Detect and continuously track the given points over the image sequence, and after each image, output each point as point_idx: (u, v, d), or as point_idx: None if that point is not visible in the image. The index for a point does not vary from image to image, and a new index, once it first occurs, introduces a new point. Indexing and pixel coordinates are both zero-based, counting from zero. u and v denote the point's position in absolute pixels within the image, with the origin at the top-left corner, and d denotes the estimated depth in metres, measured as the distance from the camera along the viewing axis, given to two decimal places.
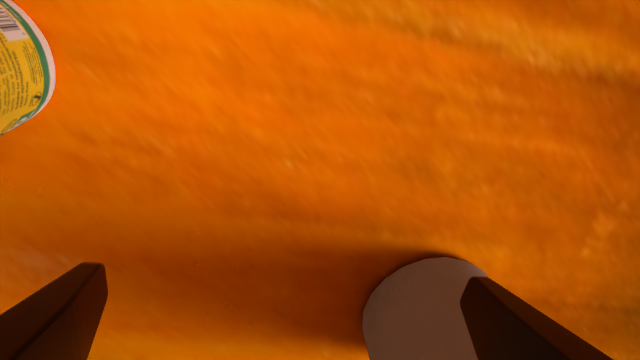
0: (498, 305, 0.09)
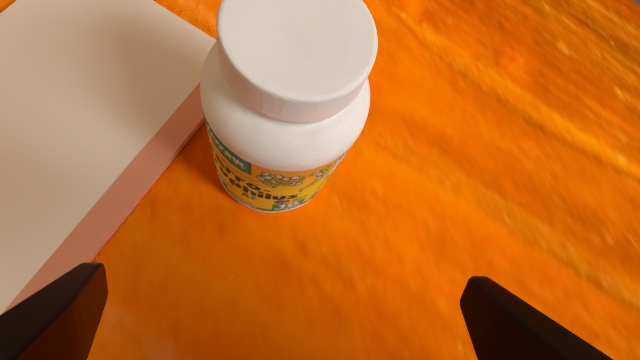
0: (498, 305, 0.09)
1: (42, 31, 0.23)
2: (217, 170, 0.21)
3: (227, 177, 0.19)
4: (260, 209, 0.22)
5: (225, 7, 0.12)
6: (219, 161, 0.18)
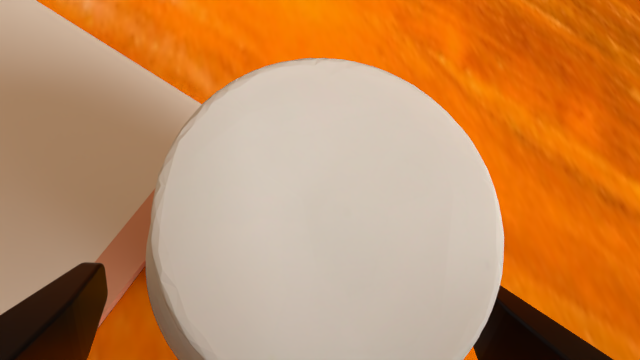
0: (498, 305, 0.09)
1: None
2: None
3: None
4: None
5: (172, 176, 0.05)
6: None
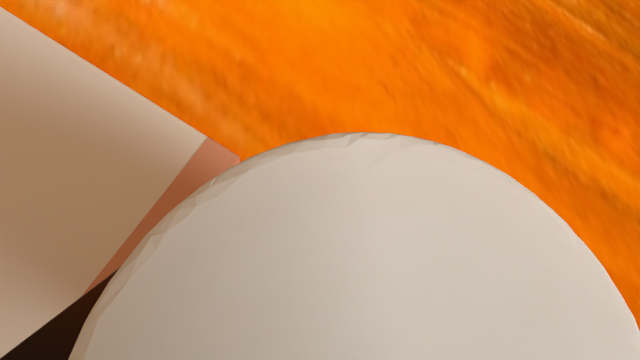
0: None
1: None
2: None
3: None
4: None
5: None
6: None
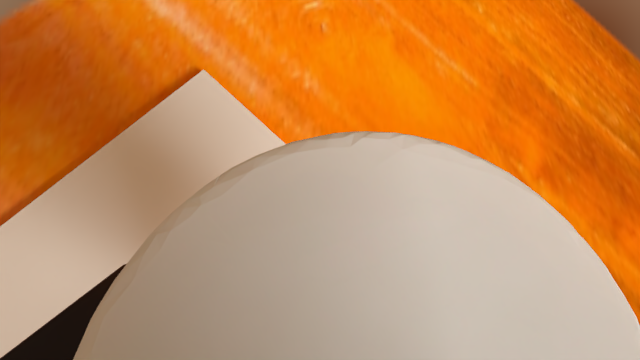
0: None
1: (159, 157, 0.22)
2: None
3: None
4: None
5: None
6: None
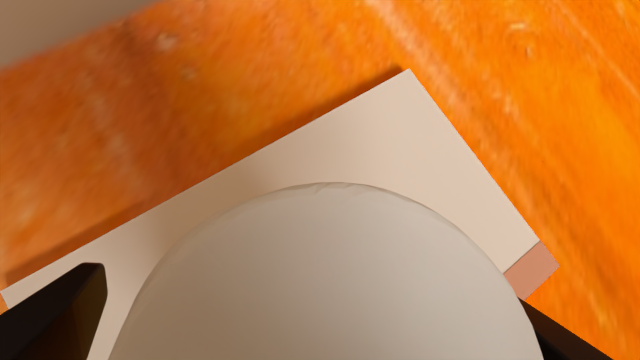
0: None
1: (355, 152, 0.19)
2: None
3: None
4: None
5: None
6: None
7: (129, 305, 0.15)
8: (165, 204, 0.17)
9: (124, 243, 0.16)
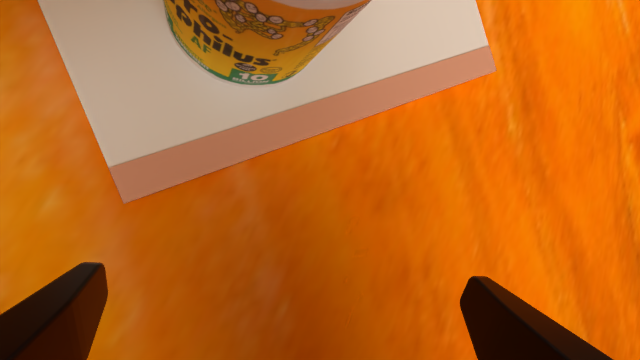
0: (498, 305, 0.09)
1: None
2: None
3: (173, 4, 0.13)
4: (213, 73, 0.16)
5: None
6: None
7: None
8: None
9: None
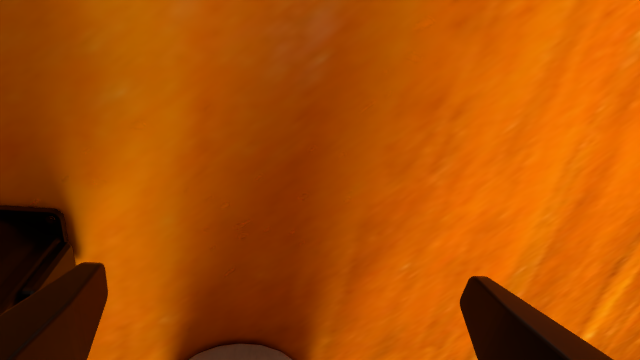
0: (498, 305, 0.09)
1: None
2: None
3: None
4: None
5: None
6: None
7: None
8: None
9: None
